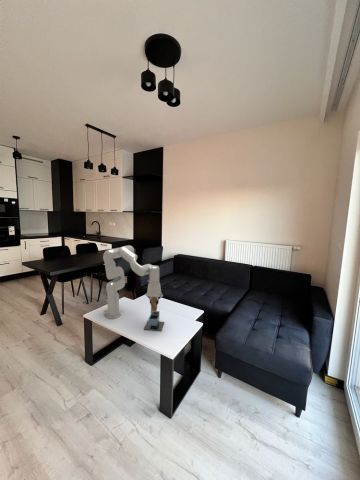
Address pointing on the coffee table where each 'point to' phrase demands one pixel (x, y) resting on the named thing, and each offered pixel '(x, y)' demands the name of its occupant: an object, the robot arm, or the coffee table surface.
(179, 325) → the coffee table surface
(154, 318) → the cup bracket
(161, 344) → the coffee table surface
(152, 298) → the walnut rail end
